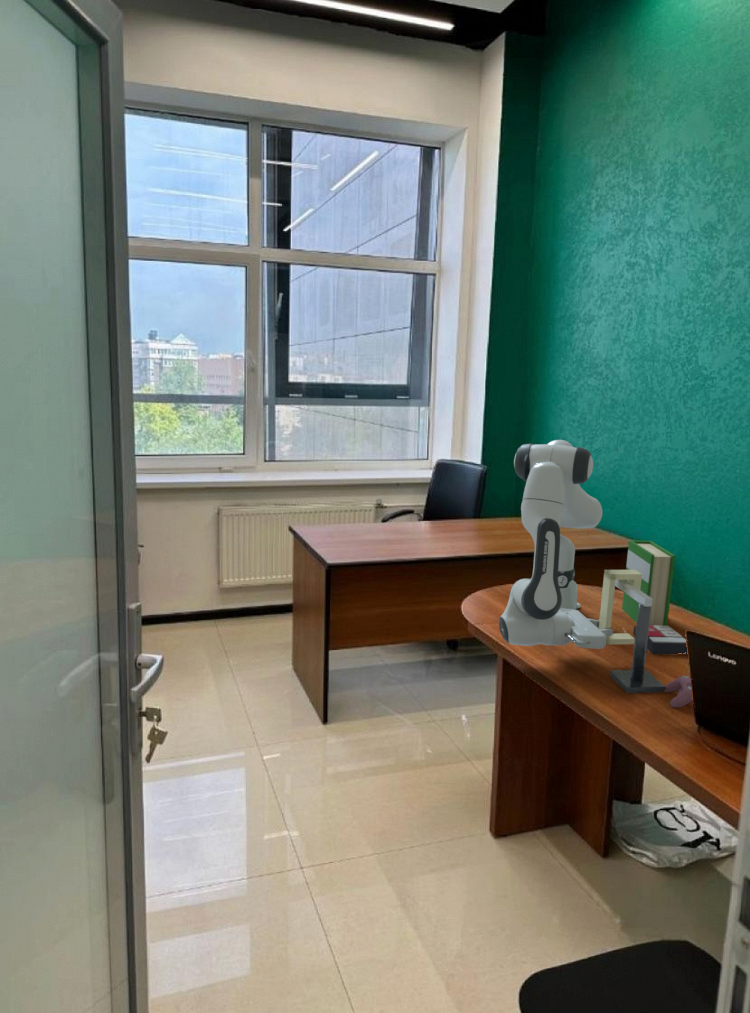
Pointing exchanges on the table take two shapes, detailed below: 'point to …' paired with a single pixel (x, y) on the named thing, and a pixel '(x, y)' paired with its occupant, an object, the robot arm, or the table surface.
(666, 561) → the hardback book
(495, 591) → the table surface
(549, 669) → the table surface
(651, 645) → the calculator
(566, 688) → the table surface
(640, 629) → the hook stand
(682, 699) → the video game controller
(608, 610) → the c-shaped bracket
